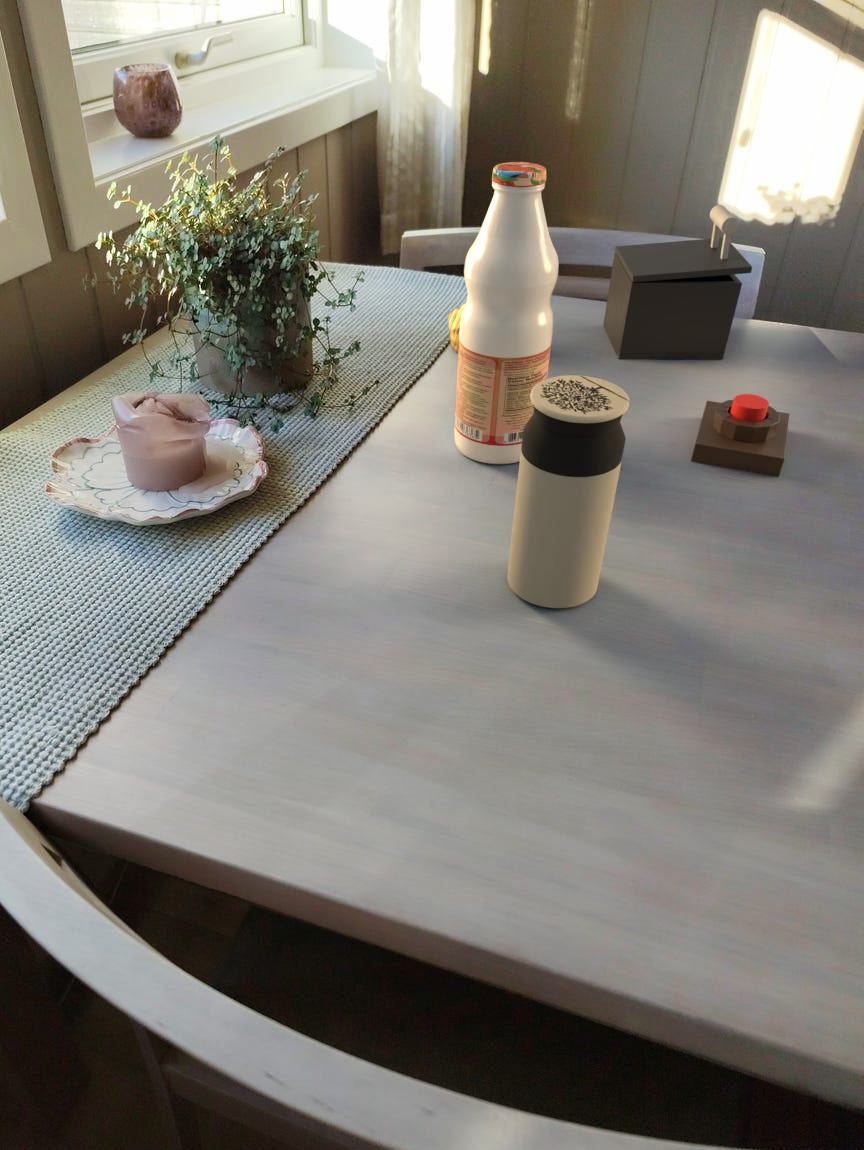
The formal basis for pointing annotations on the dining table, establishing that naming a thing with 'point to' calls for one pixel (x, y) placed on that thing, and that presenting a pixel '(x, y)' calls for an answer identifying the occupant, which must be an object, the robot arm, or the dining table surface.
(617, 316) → the dark hinged lid box
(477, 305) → the fruit juice
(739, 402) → the button
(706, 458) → the panel
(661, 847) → the dining table surface
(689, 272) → the lid
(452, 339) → the seashell
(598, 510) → the travel mug
